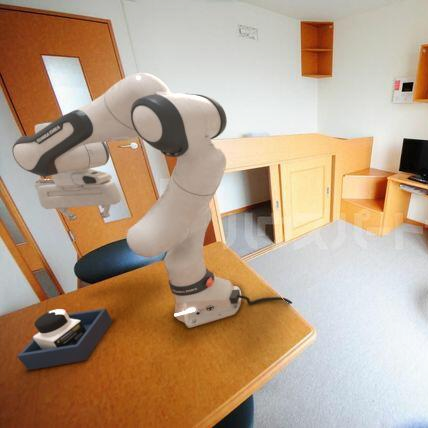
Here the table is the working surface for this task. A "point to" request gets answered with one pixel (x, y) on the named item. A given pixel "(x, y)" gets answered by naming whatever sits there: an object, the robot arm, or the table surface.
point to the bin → (95, 326)
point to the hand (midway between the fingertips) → (89, 218)
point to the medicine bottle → (58, 330)
